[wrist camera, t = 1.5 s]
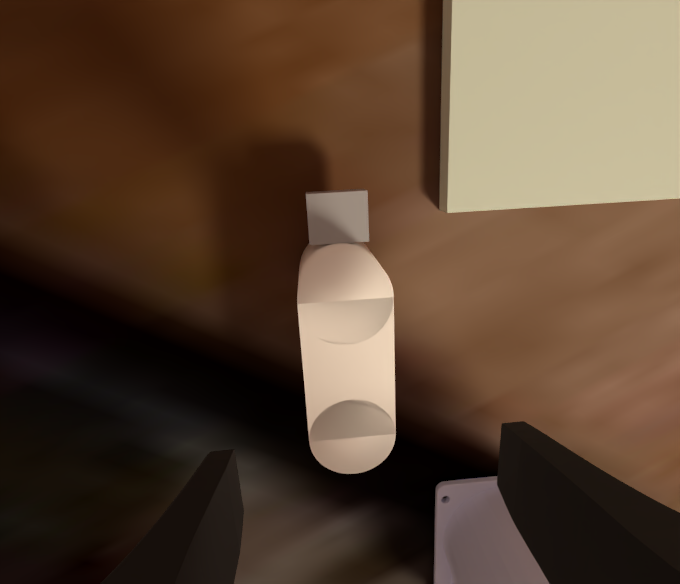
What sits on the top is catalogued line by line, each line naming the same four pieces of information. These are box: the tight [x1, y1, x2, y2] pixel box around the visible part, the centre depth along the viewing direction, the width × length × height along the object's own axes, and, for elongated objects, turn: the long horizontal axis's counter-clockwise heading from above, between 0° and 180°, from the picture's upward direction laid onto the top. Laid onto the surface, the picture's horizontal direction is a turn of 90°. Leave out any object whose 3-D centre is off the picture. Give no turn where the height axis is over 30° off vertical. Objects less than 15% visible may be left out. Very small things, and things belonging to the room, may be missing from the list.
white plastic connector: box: [297, 189, 396, 474], centre depth 19 cm, size 12×4×5 cm, turn 3°
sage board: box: [439, 0, 680, 213], centre depth 18 cm, size 13×14×1 cm
